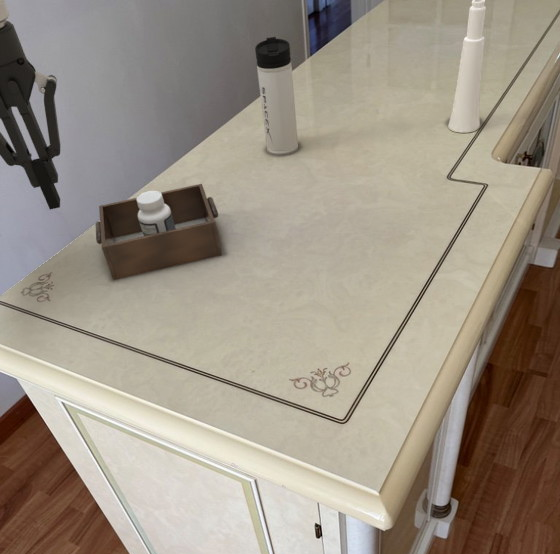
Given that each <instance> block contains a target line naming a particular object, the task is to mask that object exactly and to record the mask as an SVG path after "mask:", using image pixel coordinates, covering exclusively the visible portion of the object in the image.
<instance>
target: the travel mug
mask: <svg viewBox="0 0 560 554" xmlns="http://www.w3.org/2000/svg"><path fill="white" fill-rule="evenodd" d="M254 51H255V59H256V68H257V79H258V85H259V86H258V87H259V94H260V104H261V112H262V120H263V128H264V135H265V144H266V151H267V153H268V154H269V155H271V156H275V157H284V156H288V155H291V154H294V153H295V152H297V151H298V150H299V140H298V139H299V138H298V137H299V136H298V128H297V127H298V125H297V115H296V104H295V103H296V101H295V89H294V78H293V66H292V57H291V45H290V42H289V41H288V40H285V39H282V38H277V37H276V36H270V37H266V38H265V40H262V41H260V42H259V43H257V44H256V45H255V49H254Z"/></svg>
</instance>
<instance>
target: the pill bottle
mask: <svg viewBox="0 0 560 554" xmlns="http://www.w3.org/2000/svg"><path fill="white" fill-rule="evenodd" d="M136 198H137V204H138V207H139V209H140V210H139V212H138V220H139V223H140V226H141V229H142V235H143V236H147V235H152V234H156V233H161V232H165V231H169V230H174V229H177V227H176V224H174V221H173V217H172V213H171V210H170V208H169V206H168V205H166V204H164V200H163V197H162V194H161V191H158V190H148V191H144V192H142V193H139V194H138V195H137V197H136Z"/></svg>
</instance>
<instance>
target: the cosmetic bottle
mask: <svg viewBox="0 0 560 554" xmlns="http://www.w3.org/2000/svg"><path fill="white" fill-rule="evenodd" d="M485 4H486V0H471V6H469V8H468V18H467V28H466V36H465V37H464V38H463V42H462V48H461V55H460V61H459V67H458V73H457V82H456V86H455V87H456V88H455V93H454V100H453V105H452V109H451V114H450V118H449V120H448V125H447V127H448V129H449V130H450V131H452V132H454V133H459V134H469V133H473V132H476V131H477V130H479V128H480V127H481V123H480V121H481V119H480V100H481V88H482V87H481V84H482V75H483V74H482V73H483V64H484V51H485V36H484V29H485V28H484V27H485V17H486V10H487V7H486V5H485Z"/></svg>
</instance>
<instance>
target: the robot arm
mask: <svg viewBox="0 0 560 554" xmlns="http://www.w3.org/2000/svg"><path fill="white" fill-rule="evenodd" d="M9 17H10V12H9V9H8V7H7V4H6V2H5V0H0V120H1V122H2V124H3V126H4V129H5V131H6V133H7V136H8V138H9V140H10V143H11V144H12V146H11V144H10V143H9V142H8V140H7V139H6V137H5V136H4V134H3V133H2V132H1V131H0V157H1V158H2V160H3V161H4V163H5V164H6V165H7V166H10V167H13V166H20V167H22V168H23V170H24V172H25V174H26V176H27V179H28V181H29V183H30V185H31V186H32V188H33V189H36V188H40V191H41V193H42V195H43V197H44V200H45V201H46V205H47V206H48V210H55V209H58V208H61V198H60V195H59V192H58V190H57V188H56V187H57V186H56V185H55V184H57V183H58V184H59V174H58V171H57V168H56V166H55V164H54V160H53V159H54V158H55V157H60V155H61V140H60V139H61V138H60V131H59V123H58V116H57V109H56V108H57V107H56V100H55V95H56V90H57V85H58V84H57V83H58V81H57V80H58V79H57V77H56V76H55V75H53V74H49V75H46V74H43V73H40V72H38V71H36V68H35V66H34V65H33V64H32V63H31V62H30V61H29V60H28V58H27V56H26V54H25V51H24V49H23V46H22V44H21V40H20V38H19V35H18V33H17V30H16V28H15V25H14V24H13V23H12V22H11V21H9V20H8V18H9ZM35 84H37V87H38V91H39V93H40V94H42V95H43V106H44V113H45V119H46V127H47V133H48V142H49V145H47V142H46V139H45V137H44V135H43V132H42V130H41V127H40V125H39V122H38V120H37V117H36V115H35V112H34V110H33V108H32V104H31V101H30V99H31V97H32V92H33V88H34V85H35ZM12 108H17V111H18V113H19V115H20V116H21V118H22V121H23V123H24V125H25V129H26V130H27V133H28V135H29V137H30V140H31V142H32V144H33V147H34V149H35V151H36V154H37V157H38V158H34V159H33V158H32V153H30V149H29V147H28V145H27V143H26V140H25V138H24V136H23V133H22V131H21V129H20V127H19V124H18V122H17V119H16V117H15V115H14V112H13V109H12Z"/></svg>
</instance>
